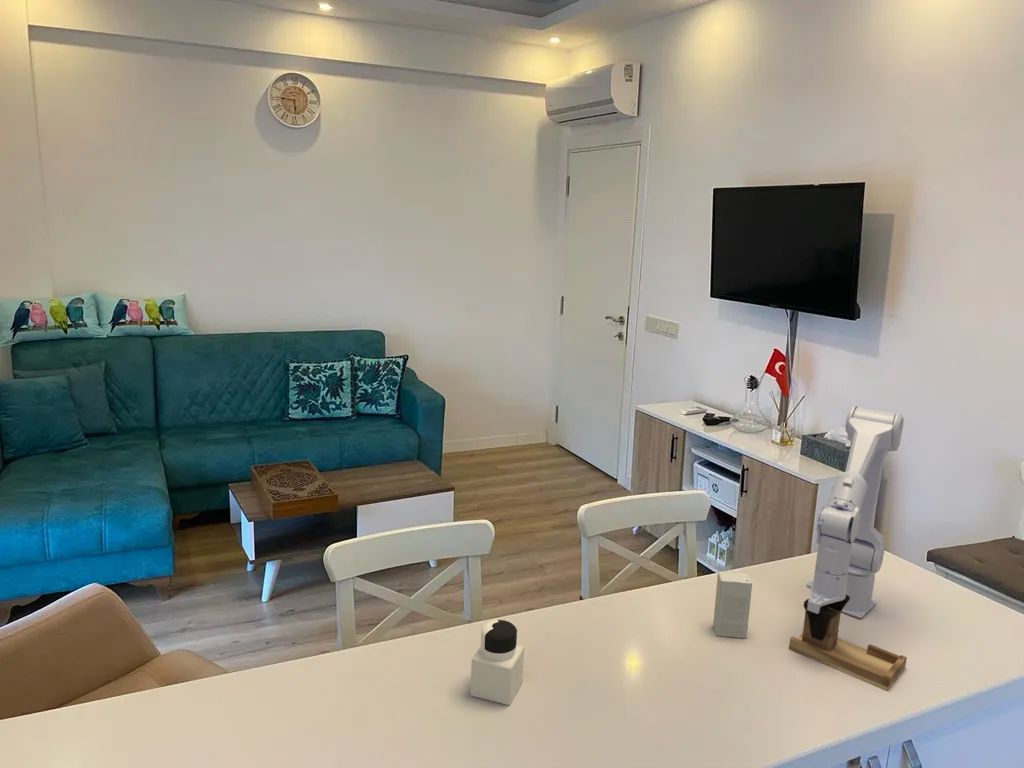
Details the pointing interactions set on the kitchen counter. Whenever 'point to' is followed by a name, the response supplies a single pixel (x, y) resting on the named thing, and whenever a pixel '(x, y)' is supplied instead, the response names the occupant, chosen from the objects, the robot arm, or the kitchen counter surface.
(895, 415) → the robot arm
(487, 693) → the medicine bottle
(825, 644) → the cabinet block
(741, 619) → the skincare box
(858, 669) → the cleat board
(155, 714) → the kitchen counter surface
